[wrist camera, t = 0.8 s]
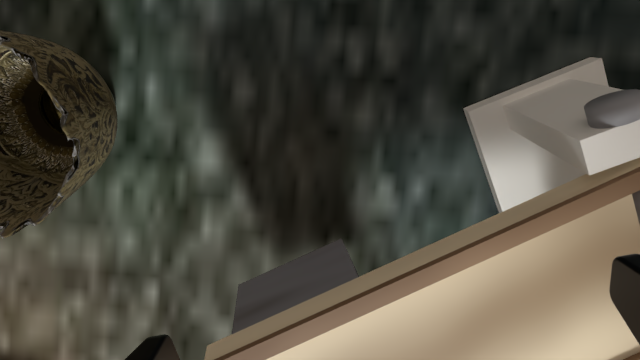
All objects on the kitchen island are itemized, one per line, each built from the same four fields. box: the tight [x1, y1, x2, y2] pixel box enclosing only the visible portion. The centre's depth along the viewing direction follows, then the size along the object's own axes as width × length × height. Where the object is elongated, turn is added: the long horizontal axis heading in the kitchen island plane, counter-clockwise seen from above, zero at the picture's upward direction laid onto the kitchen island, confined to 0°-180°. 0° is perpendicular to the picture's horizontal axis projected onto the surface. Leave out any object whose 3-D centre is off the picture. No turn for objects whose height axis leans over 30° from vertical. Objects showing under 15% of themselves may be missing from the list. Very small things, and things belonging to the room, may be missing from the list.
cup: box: [0, 30, 117, 238], centre depth 19 cm, size 7×7×8 cm
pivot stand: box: [463, 57, 640, 213], centre depth 19 cm, size 12×6×8 cm, turn 23°
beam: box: [204, 157, 640, 360], centre depth 18 cm, size 7×30×6 cm, turn 113°
